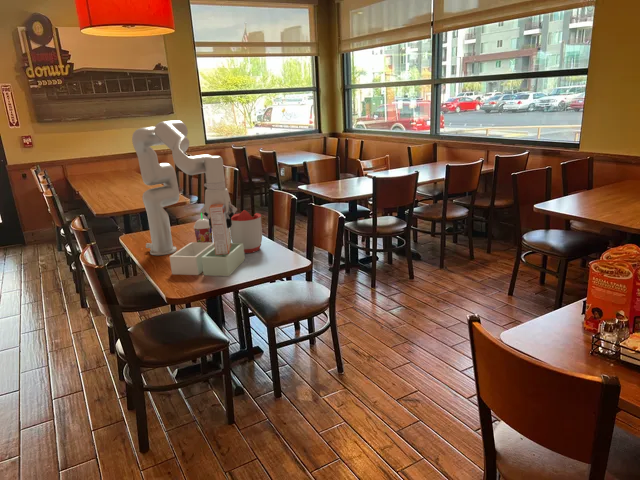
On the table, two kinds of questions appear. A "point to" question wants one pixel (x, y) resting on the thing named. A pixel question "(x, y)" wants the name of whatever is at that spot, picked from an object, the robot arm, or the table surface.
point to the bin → (223, 261)
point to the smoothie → (203, 231)
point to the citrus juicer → (247, 231)
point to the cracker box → (220, 229)
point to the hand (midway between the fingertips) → (220, 227)
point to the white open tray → (190, 258)
